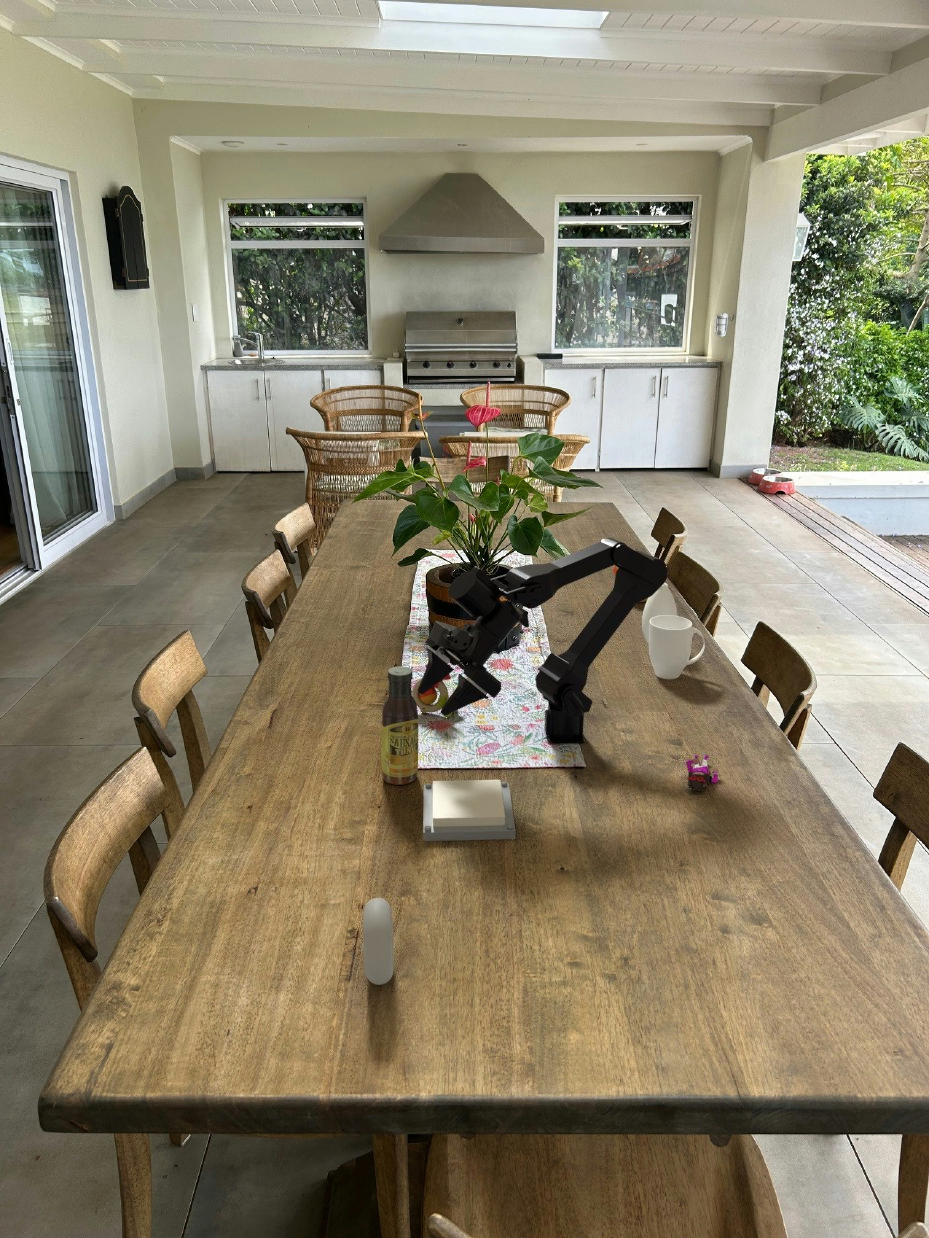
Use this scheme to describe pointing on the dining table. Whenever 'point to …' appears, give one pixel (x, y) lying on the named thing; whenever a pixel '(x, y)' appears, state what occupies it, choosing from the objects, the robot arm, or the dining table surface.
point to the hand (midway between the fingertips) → (430, 703)
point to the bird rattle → (431, 696)
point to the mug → (671, 645)
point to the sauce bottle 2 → (658, 607)
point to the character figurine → (700, 774)
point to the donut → (378, 941)
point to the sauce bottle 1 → (399, 729)
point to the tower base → (468, 830)
